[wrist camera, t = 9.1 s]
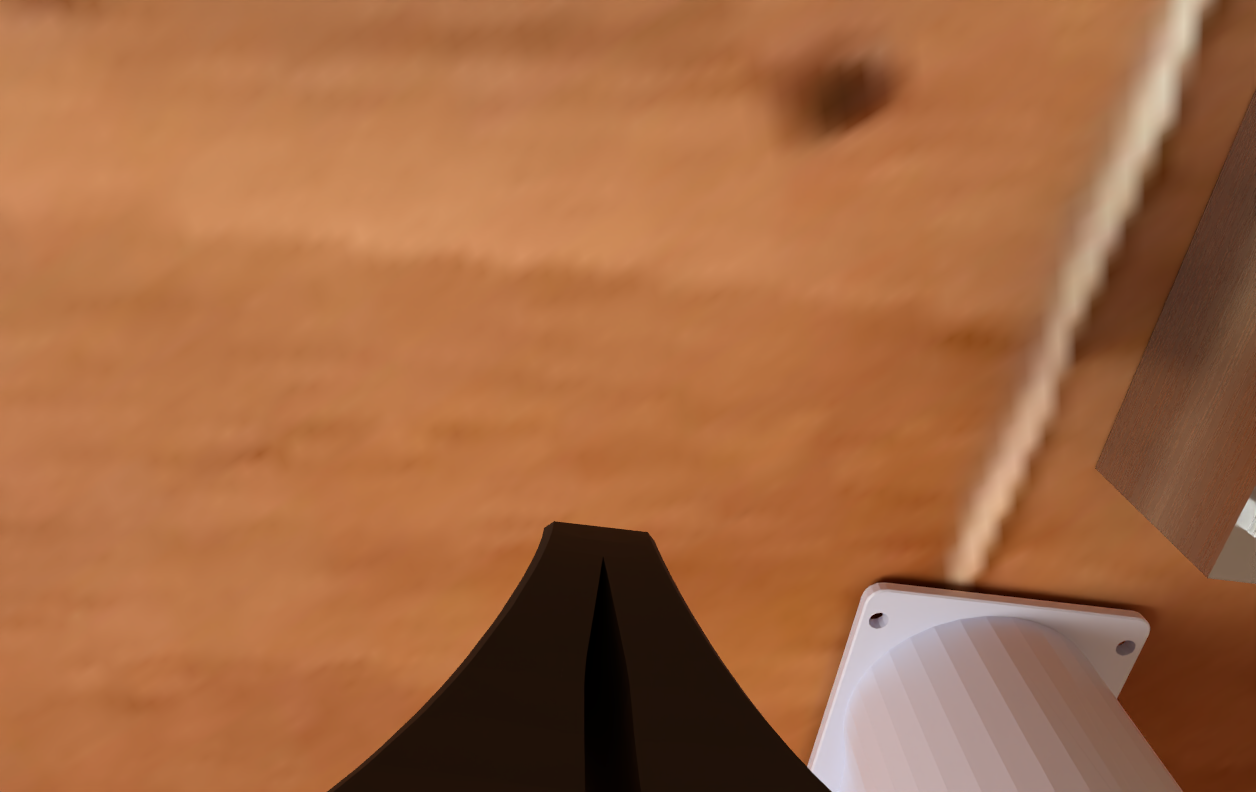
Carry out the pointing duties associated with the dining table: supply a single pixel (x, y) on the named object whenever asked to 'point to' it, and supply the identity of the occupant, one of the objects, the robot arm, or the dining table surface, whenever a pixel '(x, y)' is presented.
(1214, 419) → the heatsink
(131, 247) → the dining table surface
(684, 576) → the dining table surface
